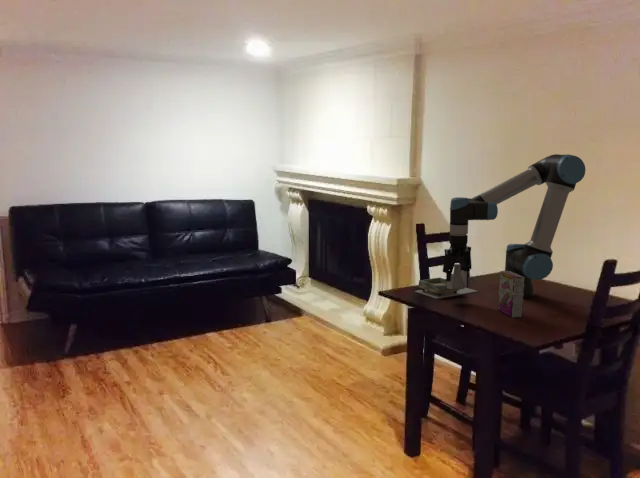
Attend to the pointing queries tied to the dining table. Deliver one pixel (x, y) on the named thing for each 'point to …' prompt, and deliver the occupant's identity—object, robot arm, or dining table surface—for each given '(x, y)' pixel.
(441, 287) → the square tray
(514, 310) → the candy bar box
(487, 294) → the dining table surface
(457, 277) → the flask
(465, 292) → the mat
